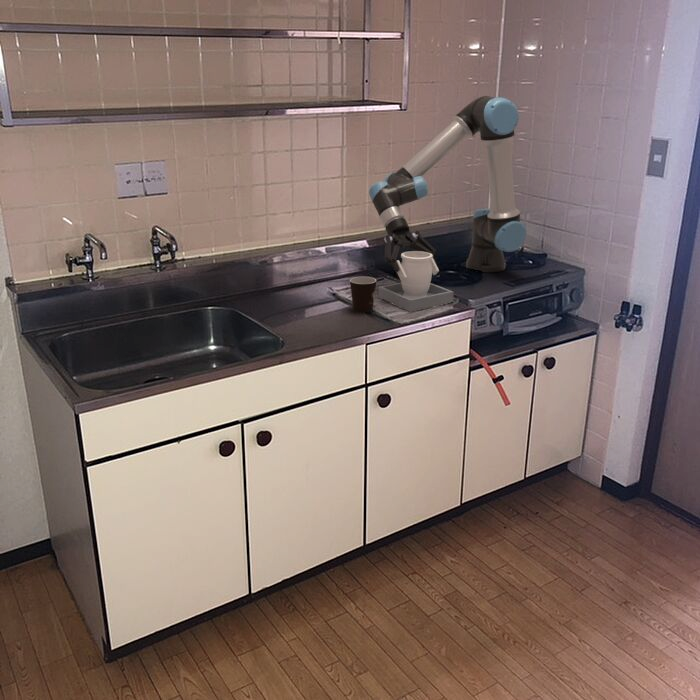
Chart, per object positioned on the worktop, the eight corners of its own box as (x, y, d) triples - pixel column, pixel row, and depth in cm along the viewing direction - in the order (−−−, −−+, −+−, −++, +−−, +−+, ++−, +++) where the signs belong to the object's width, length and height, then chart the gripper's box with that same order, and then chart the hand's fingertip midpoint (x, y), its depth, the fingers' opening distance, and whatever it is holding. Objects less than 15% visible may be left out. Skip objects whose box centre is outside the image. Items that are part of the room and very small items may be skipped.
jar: (435, 295, 262) (436, 252, 257) (425, 303, 254) (426, 259, 248) (405, 291, 266) (407, 249, 261) (395, 299, 258) (396, 256, 252)
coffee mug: (365, 315, 246) (366, 285, 242) (344, 310, 250) (344, 280, 247) (386, 306, 254) (387, 277, 251) (365, 301, 259) (365, 273, 255)
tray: (420, 289, 272) (420, 279, 270) (452, 303, 258) (453, 291, 256) (378, 298, 263) (378, 286, 261) (410, 312, 249) (410, 300, 247)
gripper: (418, 225, 271) (444, 276, 265) (360, 233, 258) (385, 287, 252) (428, 212, 265) (454, 264, 258) (369, 220, 252) (394, 275, 246)
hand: (420, 276), depth 255 cm, fingers open, 13 cm apart
